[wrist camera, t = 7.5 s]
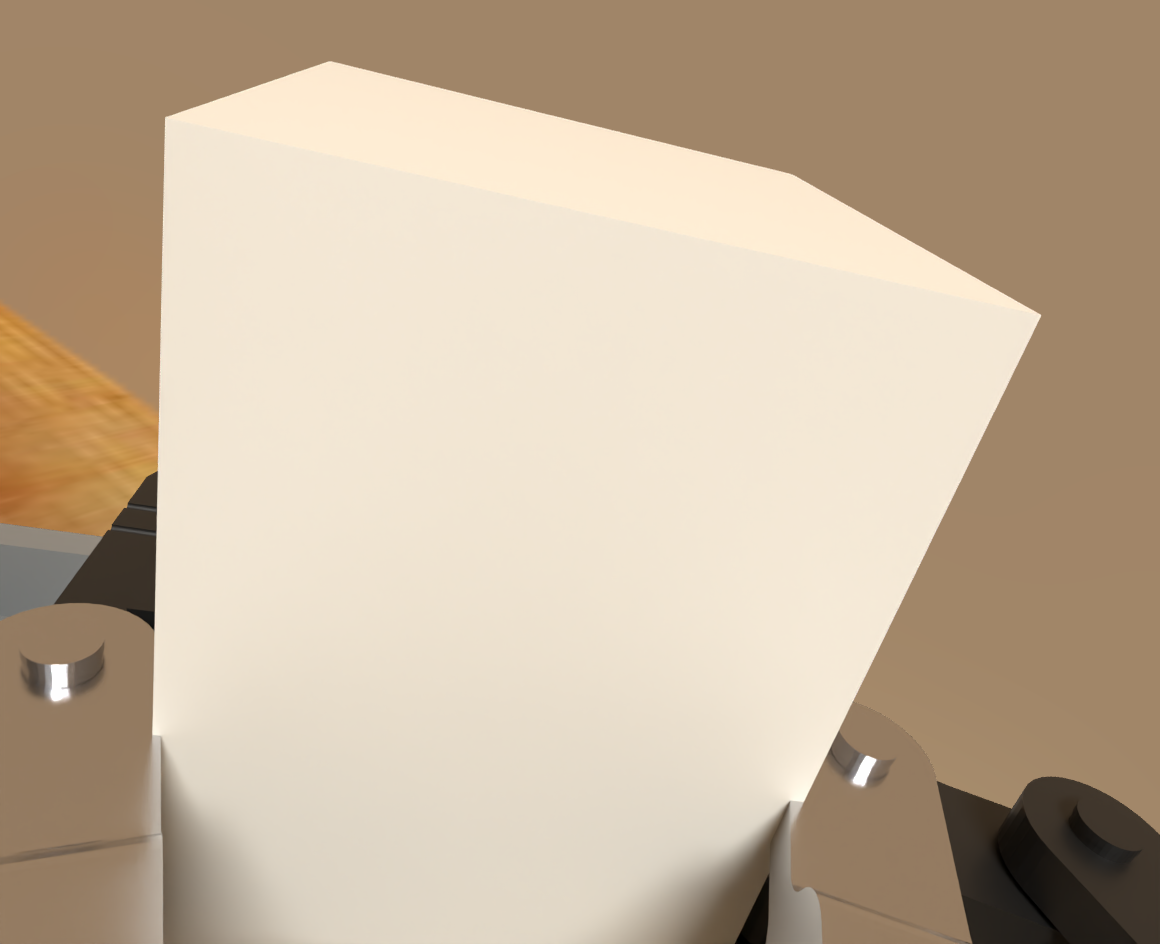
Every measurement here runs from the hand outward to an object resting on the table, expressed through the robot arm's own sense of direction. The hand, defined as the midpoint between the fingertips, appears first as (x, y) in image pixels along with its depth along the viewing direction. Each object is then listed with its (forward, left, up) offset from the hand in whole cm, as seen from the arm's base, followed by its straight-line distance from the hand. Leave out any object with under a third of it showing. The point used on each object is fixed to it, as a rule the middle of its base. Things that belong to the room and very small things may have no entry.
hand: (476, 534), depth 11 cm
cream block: (0, -3, -7) cm, 8 cm away
